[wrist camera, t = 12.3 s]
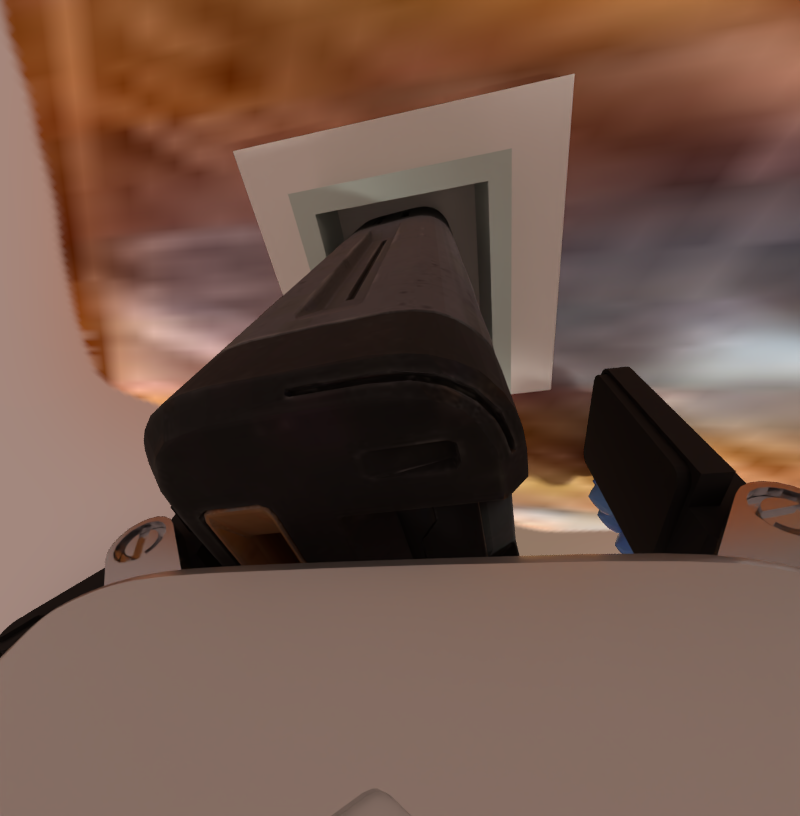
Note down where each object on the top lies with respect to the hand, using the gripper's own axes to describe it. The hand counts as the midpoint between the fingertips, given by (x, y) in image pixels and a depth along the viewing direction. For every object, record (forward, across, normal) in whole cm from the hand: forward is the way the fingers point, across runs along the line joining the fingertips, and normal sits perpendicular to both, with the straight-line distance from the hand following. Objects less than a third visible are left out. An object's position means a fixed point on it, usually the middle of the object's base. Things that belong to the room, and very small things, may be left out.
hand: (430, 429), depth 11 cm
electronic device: (+15, +1, 0) cm, 15 cm away
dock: (+16, +1, 0) cm, 16 cm away
